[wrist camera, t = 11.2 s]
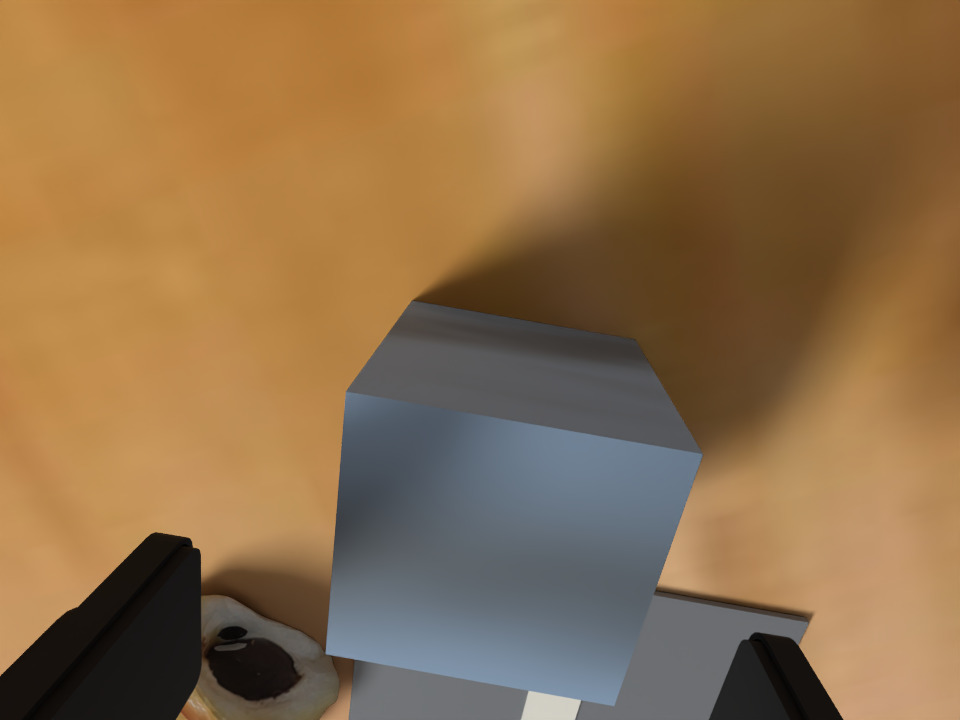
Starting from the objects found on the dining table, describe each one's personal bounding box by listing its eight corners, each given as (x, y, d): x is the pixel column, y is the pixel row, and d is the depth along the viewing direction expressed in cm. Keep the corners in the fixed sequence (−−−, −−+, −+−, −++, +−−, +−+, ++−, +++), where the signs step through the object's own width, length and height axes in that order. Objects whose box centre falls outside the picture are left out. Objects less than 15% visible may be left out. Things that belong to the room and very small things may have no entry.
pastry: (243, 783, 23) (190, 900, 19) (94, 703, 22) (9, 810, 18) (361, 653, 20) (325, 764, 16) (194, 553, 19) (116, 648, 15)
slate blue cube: (412, 300, 15) (345, 391, 9) (634, 338, 15) (703, 454, 9) (390, 487, 17) (325, 654, 11) (583, 521, 17) (614, 706, 11)
